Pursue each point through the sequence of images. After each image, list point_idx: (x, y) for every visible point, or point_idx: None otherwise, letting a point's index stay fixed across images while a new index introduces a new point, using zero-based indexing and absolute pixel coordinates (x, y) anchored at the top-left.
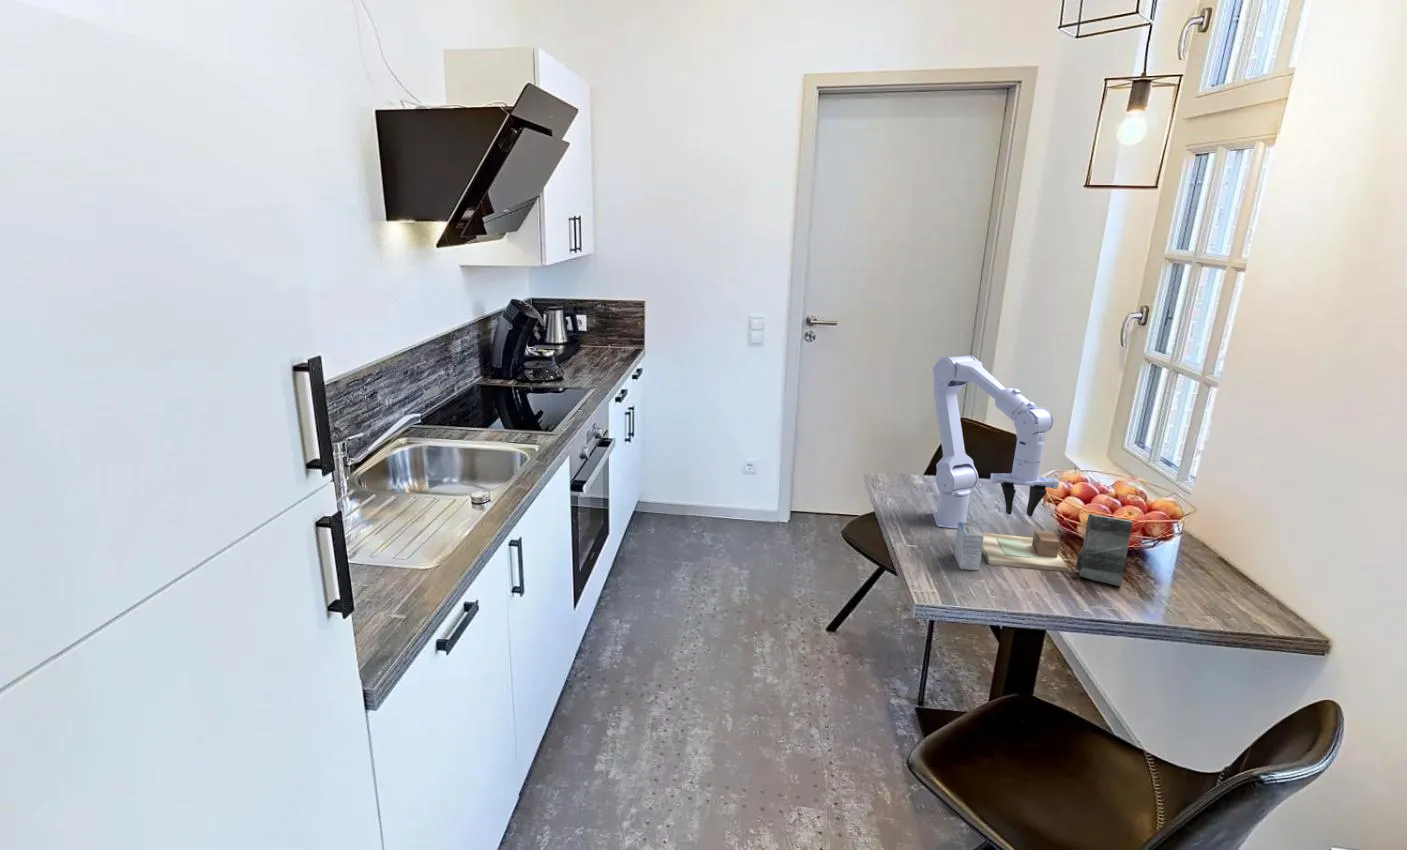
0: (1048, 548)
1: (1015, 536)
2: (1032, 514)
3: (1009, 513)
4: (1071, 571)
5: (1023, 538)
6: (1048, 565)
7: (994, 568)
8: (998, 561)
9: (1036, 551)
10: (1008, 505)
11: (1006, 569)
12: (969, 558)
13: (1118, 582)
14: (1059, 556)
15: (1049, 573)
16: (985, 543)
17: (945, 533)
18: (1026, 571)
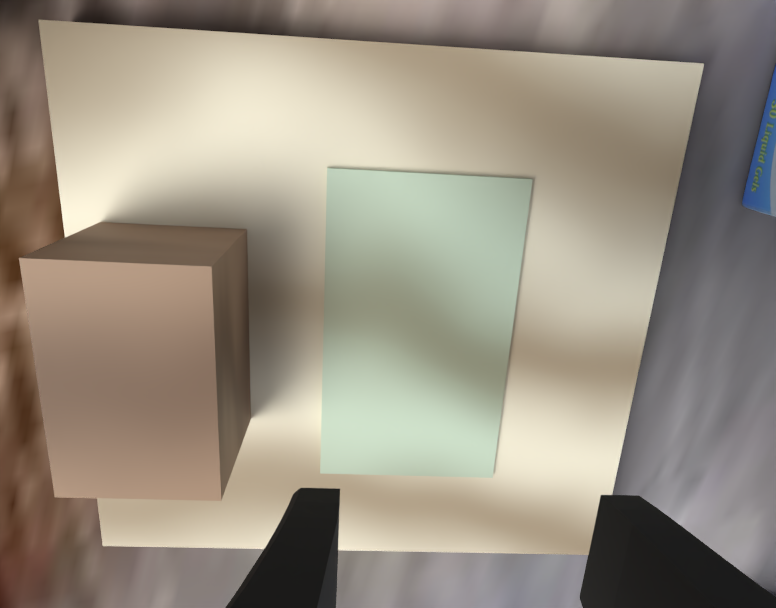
0: (154, 243)
1: None
2: (287, 507)
3: (631, 504)
4: (23, 87)
5: None
6: (210, 34)
7: (649, 11)
8: (622, 61)
9: (247, 299)
10: (769, 596)
11: (555, 11)
12: None
13: None
14: None
15: (215, 4)
16: (608, 377)
17: (762, 544)
18: (399, 5)
